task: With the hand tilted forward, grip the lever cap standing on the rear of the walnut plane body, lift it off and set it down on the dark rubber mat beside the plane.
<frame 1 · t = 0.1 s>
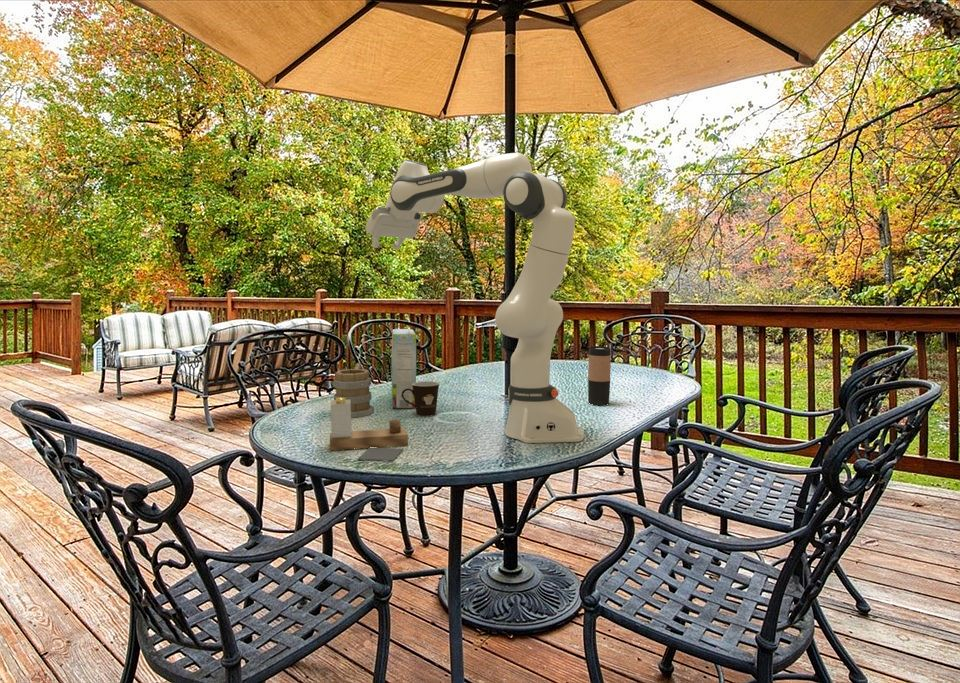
hand: (385, 247, 186), 54 cm above the table, tool tilted 30°, fingers open, 8 cm apart
tankard: (356, 411, 188), on the table
snack box: (404, 402, 201), on the table
coffee mug: (421, 414, 184), on the table
plane body: (369, 444, 150), on the table
travel mug: (598, 404, 197), on the table
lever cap: (341, 435, 148), point 3 cm above the table, touching plane body
mat: (381, 455, 141), on the table
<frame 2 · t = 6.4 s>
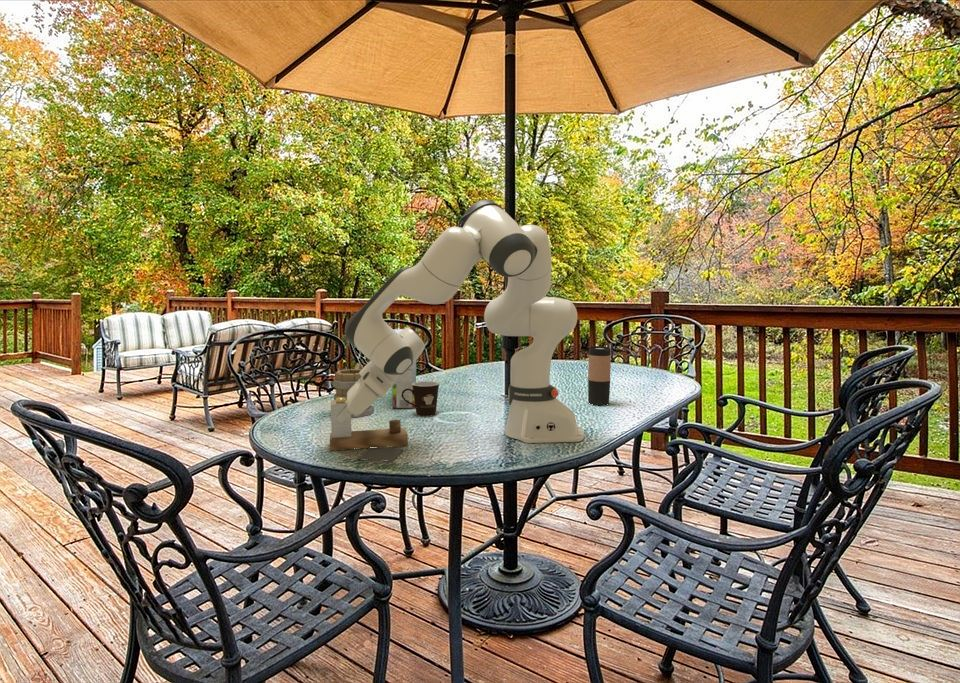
hand: (338, 417, 147), 8 cm above the table, tool tilted 45°, fingers closed on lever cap, 5 cm apart
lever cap: (341, 435, 148), point 3 cm above the table, touching gripper, plane body
everything else where it was.
when the fingers open (6 cm above the table, at t = 12.2 s): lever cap drops 1 cm, resting on mat.
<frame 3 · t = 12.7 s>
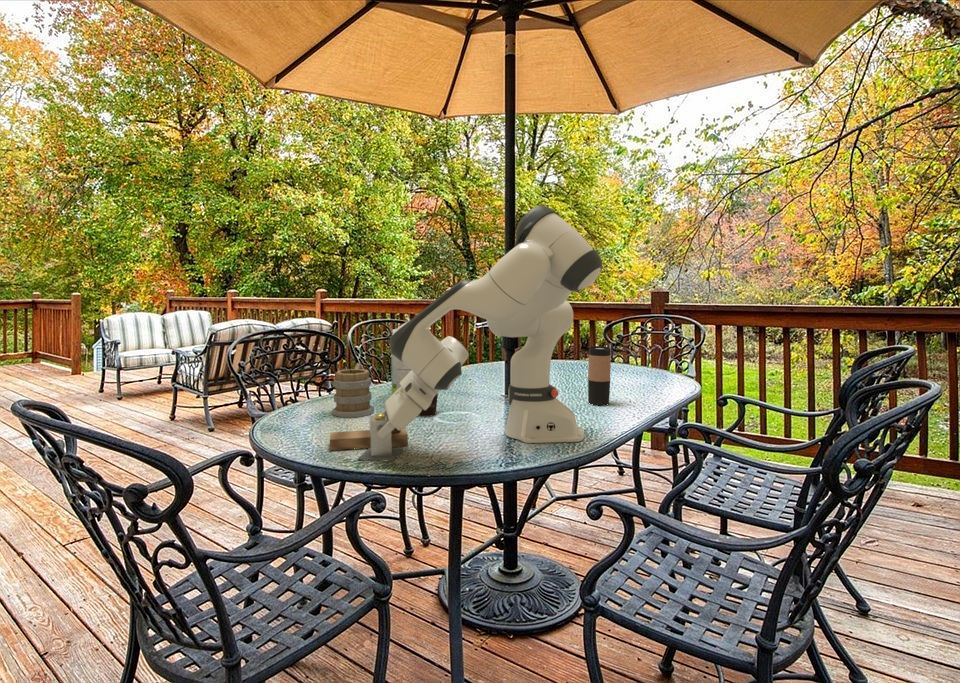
hand: (378, 430, 140), 6 cm above the table, tool tilted 45°, fingers open, 8 cm apart
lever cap: (380, 453, 141), resting on mat
everything else where it was.
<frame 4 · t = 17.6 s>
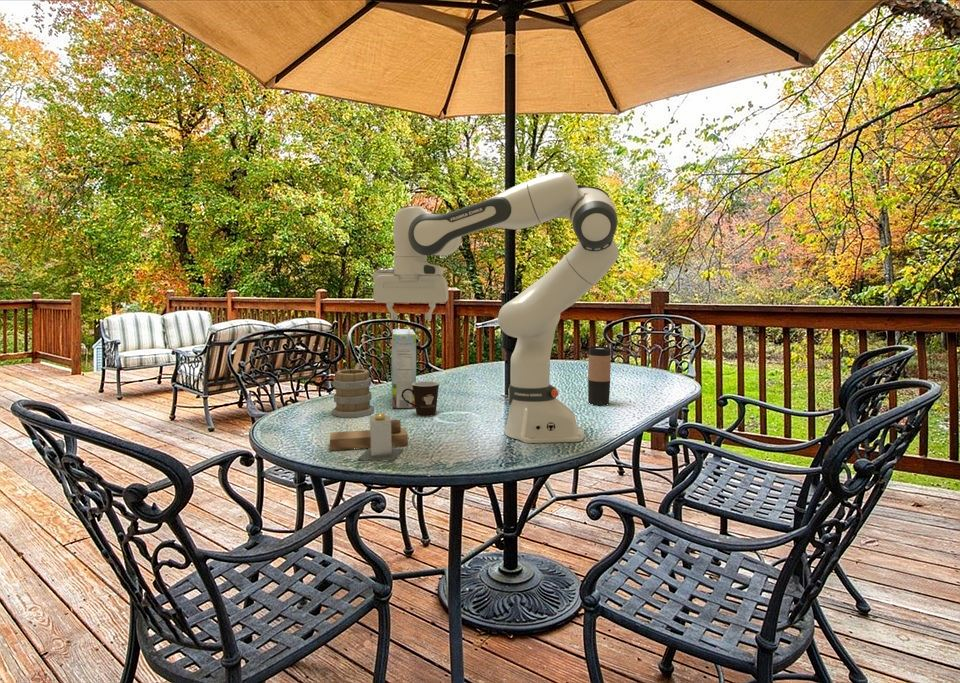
hand: (411, 319, 152), 33 cm above the table, tool pointing down, fingers open, 8 cm apart
nothing on the table moved.
at the end: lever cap inside the target area on the mat (0.1 cm from its centre), point 0.4 cm above the mat's base; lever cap tilted 0°; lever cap touching mat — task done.
